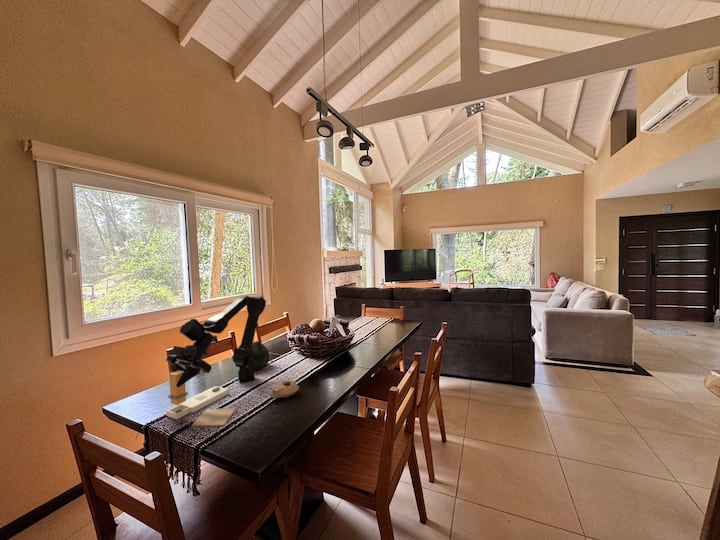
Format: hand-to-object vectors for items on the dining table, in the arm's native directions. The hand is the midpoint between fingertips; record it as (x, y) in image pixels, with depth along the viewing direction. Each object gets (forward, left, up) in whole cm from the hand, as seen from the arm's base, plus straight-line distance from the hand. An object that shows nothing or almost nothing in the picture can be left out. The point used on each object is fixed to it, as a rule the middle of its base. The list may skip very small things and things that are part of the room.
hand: (173, 385), depth 107 cm
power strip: (-7, -6, -11) cm, 14 cm away
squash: (-31, -36, -11) cm, 49 cm away
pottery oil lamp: (-38, +3, -11) cm, 40 cm away
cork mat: (-13, +8, -11) cm, 19 cm away
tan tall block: (-1, -1, -7) cm, 7 cm away
